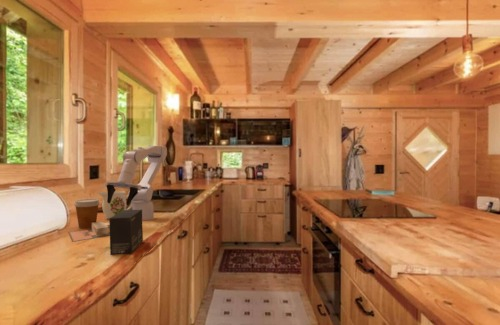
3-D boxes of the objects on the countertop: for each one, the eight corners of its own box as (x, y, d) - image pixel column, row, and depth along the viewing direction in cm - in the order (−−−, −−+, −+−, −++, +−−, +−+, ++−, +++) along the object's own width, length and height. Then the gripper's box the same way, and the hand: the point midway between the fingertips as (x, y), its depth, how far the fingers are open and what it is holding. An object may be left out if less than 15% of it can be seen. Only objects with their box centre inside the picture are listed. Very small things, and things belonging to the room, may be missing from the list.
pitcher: (138, 216, 139) (138, 190, 139) (102, 222, 126) (101, 193, 125) (129, 213, 147) (128, 188, 146) (93, 219, 133) (93, 191, 133)
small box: (123, 242, 97) (123, 209, 97) (143, 241, 98) (143, 209, 98) (109, 255, 84) (108, 217, 84) (131, 254, 85) (131, 217, 85)
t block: (120, 225, 118) (120, 218, 118) (127, 231, 108) (127, 224, 108) (91, 229, 111) (91, 222, 111) (96, 236, 102) (96, 228, 102)
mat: (123, 225, 121) (123, 224, 121) (133, 233, 108) (133, 231, 108) (68, 233, 108) (68, 232, 108) (72, 243, 95) (72, 242, 95)
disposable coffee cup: (104, 225, 121) (104, 199, 121) (90, 230, 112) (89, 202, 111) (85, 224, 122) (84, 198, 122) (69, 230, 113) (68, 202, 112)
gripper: (107, 168, 115) (97, 198, 108) (142, 173, 117) (134, 202, 110) (111, 175, 121) (102, 203, 114) (144, 179, 123) (137, 207, 116)
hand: (118, 203), depth 113 cm, fingers open, 7 cm apart
